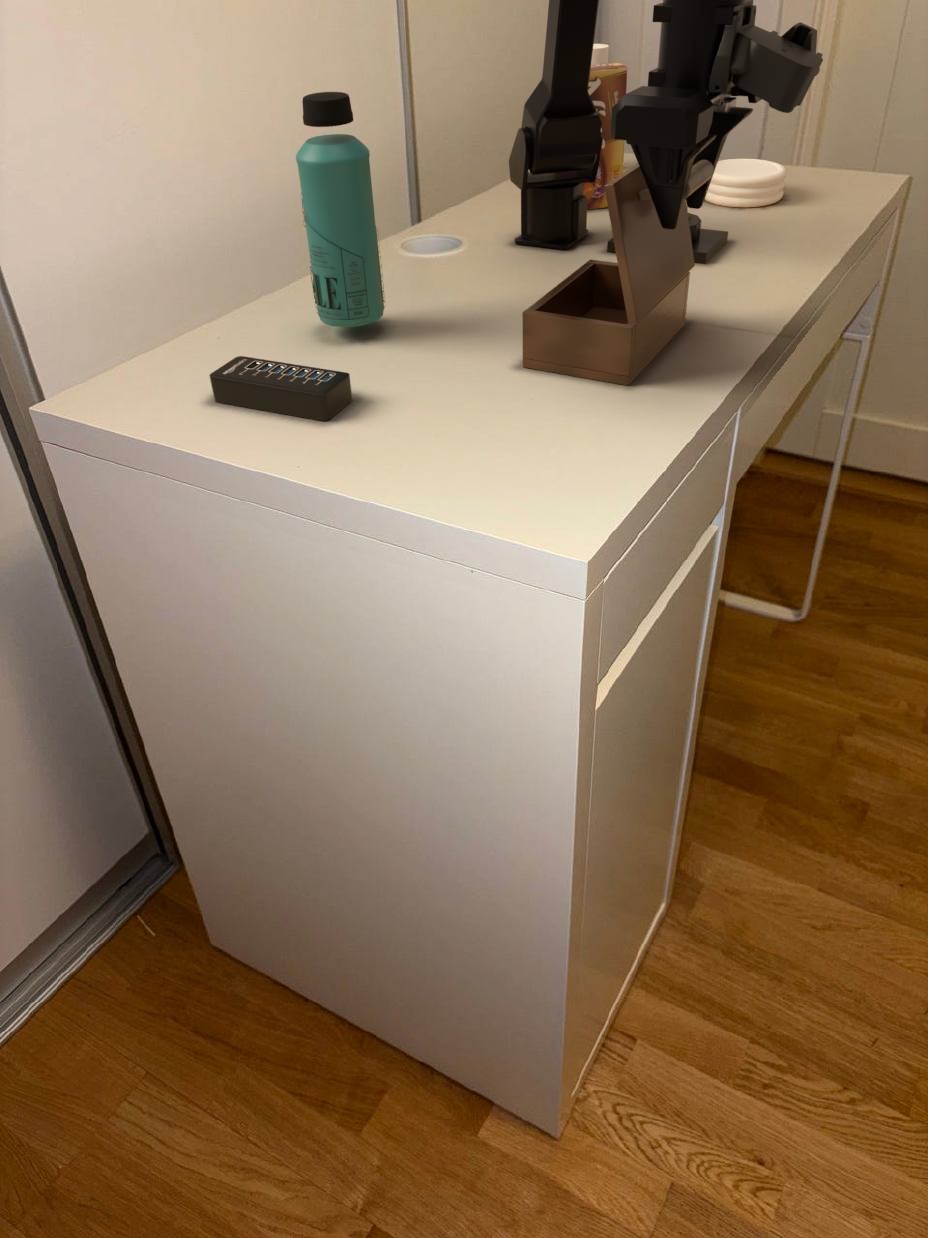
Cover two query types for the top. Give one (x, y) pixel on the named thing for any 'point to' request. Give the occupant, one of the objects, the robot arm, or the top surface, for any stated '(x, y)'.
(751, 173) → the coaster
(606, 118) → the candy box
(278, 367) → the multiport hub
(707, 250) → the control block
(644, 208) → the chest lid
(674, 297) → the chest
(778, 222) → the top surface
